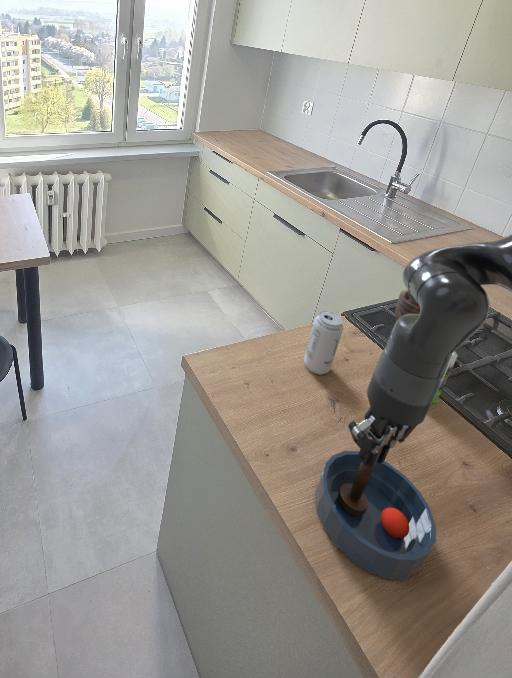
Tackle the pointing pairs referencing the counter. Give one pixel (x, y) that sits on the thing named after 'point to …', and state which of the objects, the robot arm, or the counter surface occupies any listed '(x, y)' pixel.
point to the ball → (394, 523)
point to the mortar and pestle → (405, 305)
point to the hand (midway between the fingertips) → (370, 459)
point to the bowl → (375, 518)
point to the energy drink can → (323, 342)
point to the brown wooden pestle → (357, 490)
